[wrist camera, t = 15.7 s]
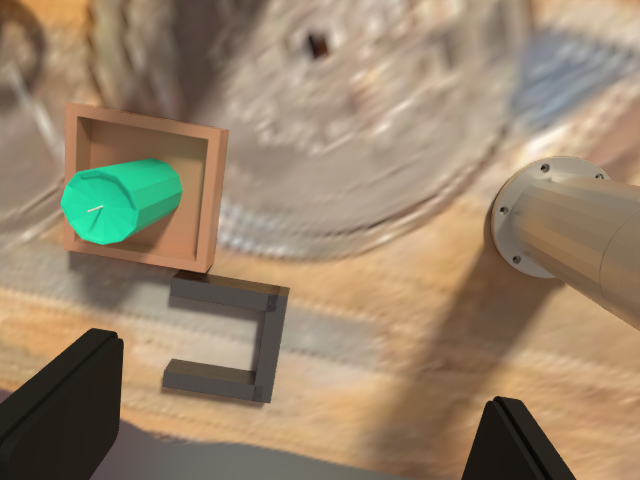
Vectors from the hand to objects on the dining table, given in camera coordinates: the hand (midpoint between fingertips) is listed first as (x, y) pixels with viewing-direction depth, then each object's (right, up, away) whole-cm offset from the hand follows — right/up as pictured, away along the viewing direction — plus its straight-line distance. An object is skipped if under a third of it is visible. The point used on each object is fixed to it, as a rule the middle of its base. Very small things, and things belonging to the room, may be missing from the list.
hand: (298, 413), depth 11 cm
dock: (-10, -6, +37) cm, 39 cm away
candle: (-16, +10, +32) cm, 37 cm away
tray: (-17, +10, +33) cm, 38 cm away
